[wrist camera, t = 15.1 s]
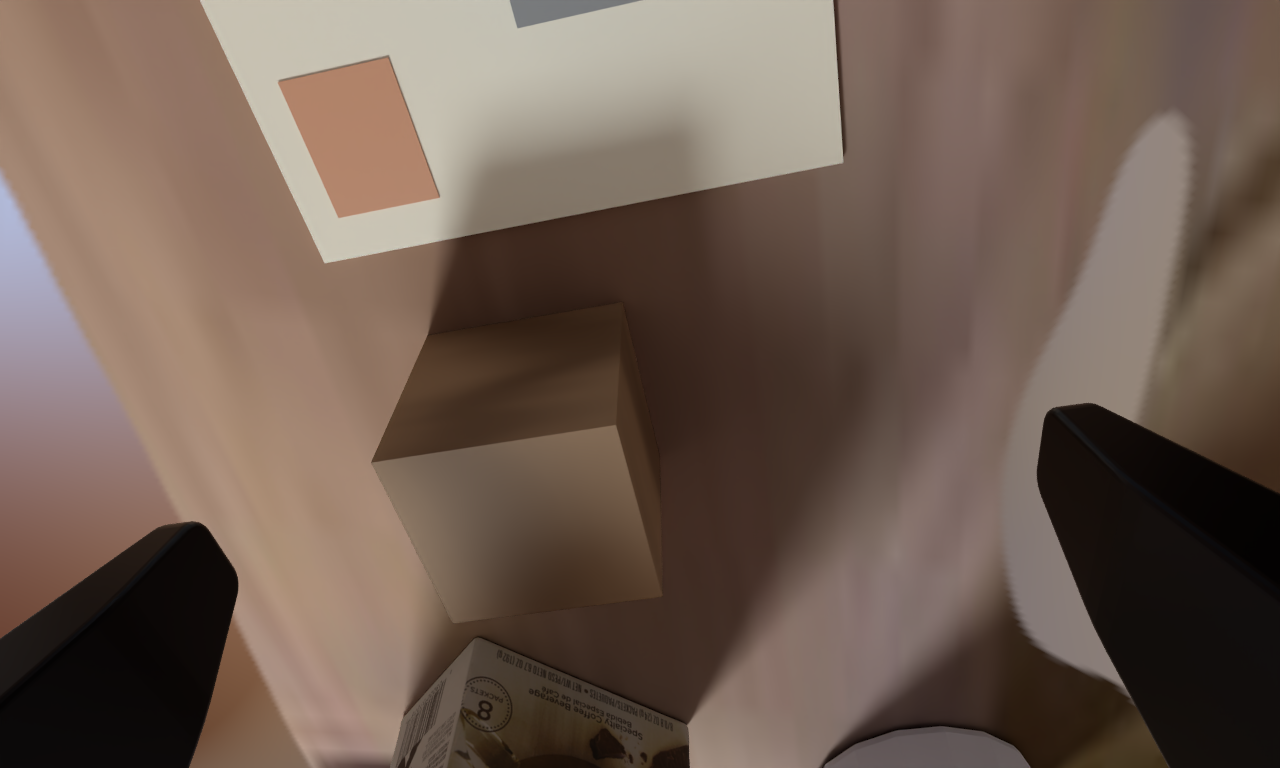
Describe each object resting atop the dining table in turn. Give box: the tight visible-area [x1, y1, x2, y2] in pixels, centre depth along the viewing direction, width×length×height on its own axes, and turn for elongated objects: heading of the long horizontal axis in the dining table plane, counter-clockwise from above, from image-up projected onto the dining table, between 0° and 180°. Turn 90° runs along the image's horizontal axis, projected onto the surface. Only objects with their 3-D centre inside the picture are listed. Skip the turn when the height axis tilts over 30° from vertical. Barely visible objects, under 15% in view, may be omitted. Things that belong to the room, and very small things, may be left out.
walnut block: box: [371, 302, 663, 623], centre depth 19 cm, size 5×5×5 cm
